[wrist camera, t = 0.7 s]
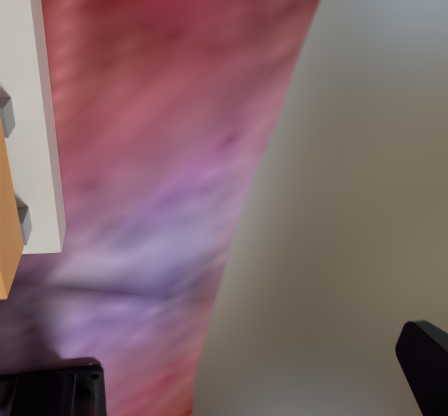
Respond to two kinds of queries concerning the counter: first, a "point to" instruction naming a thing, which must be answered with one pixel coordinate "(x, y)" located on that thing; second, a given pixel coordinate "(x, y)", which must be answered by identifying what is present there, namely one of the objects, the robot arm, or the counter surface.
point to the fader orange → (8, 224)
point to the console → (30, 126)
